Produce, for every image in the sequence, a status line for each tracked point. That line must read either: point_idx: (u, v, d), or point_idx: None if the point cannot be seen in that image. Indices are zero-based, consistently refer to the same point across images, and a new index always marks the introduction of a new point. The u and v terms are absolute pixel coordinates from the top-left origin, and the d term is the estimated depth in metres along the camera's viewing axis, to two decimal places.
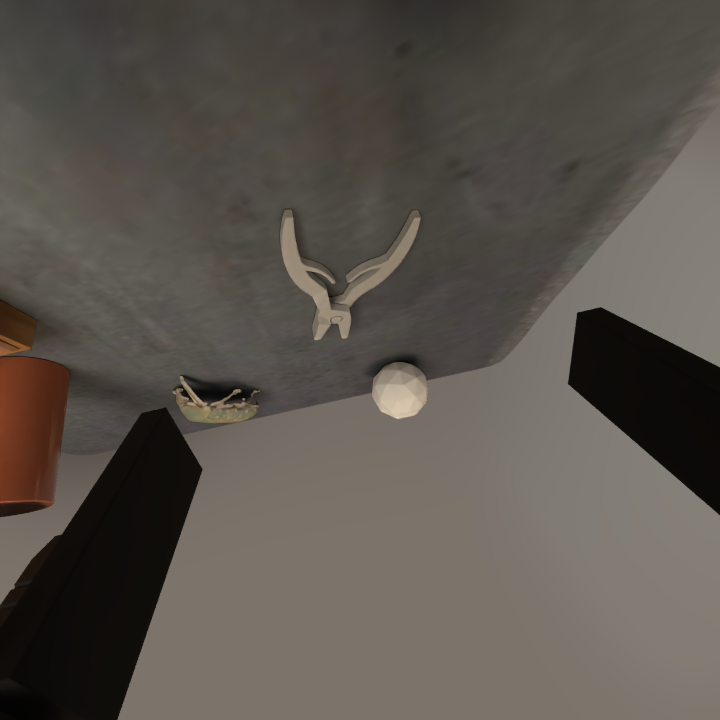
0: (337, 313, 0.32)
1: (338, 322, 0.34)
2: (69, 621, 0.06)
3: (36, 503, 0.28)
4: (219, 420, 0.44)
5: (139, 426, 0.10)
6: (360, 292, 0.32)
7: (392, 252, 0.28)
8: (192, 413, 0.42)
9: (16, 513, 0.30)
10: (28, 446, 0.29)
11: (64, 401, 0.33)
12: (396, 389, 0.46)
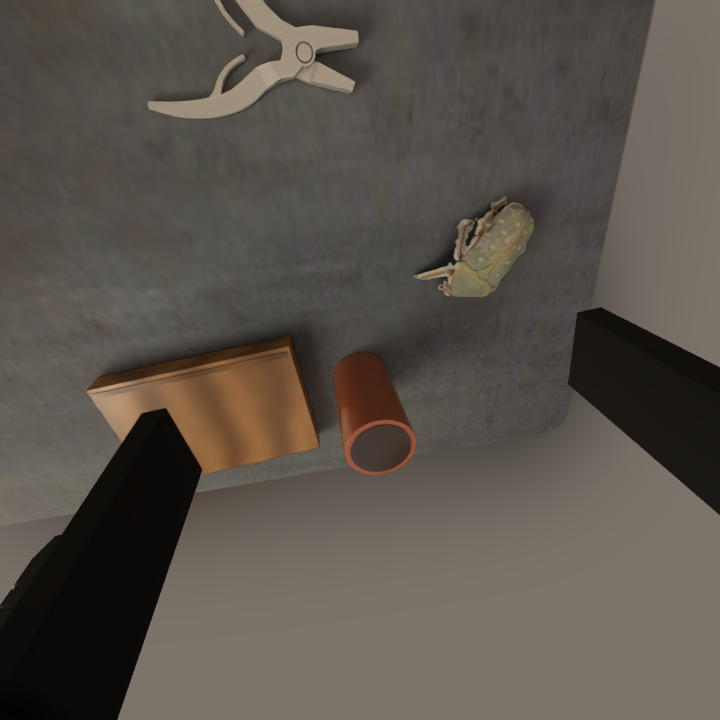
0: (289, 50, 0.25)
1: (312, 48, 0.25)
2: (69, 621, 0.06)
3: (380, 426, 0.30)
4: (494, 260, 0.33)
5: (139, 426, 0.10)
6: (263, 10, 0.25)
7: None
8: (461, 284, 0.34)
9: (403, 449, 0.31)
10: (353, 399, 0.33)
11: (372, 366, 0.37)
12: None
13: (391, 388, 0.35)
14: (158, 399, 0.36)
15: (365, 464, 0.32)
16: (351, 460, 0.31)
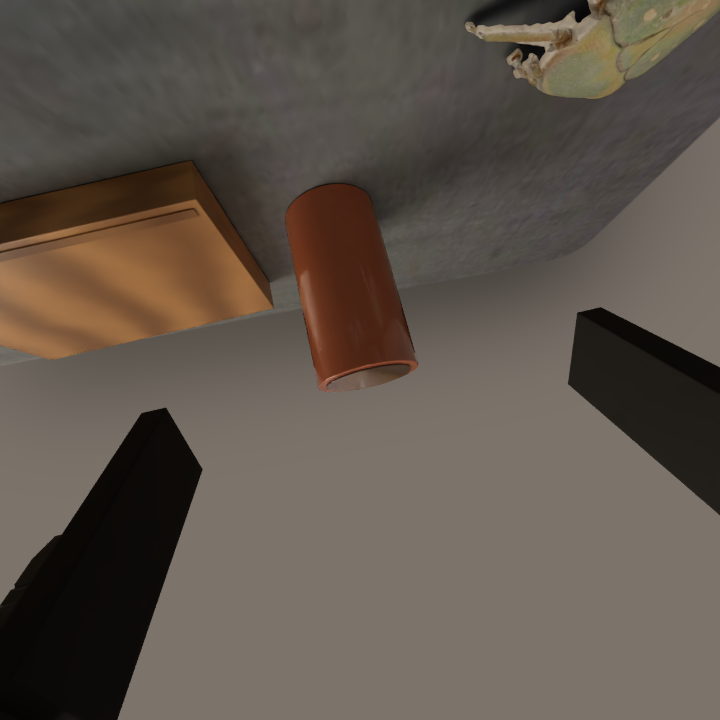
0: None
1: None
2: (69, 621, 0.06)
3: (372, 368, 0.20)
4: (677, 18, 0.13)
5: (139, 425, 0.10)
6: None
7: None
8: (568, 76, 0.15)
9: (398, 374, 0.23)
10: (327, 305, 0.21)
11: (354, 226, 0.22)
12: None
13: (386, 274, 0.22)
14: None
15: (345, 388, 0.24)
16: (327, 389, 0.23)
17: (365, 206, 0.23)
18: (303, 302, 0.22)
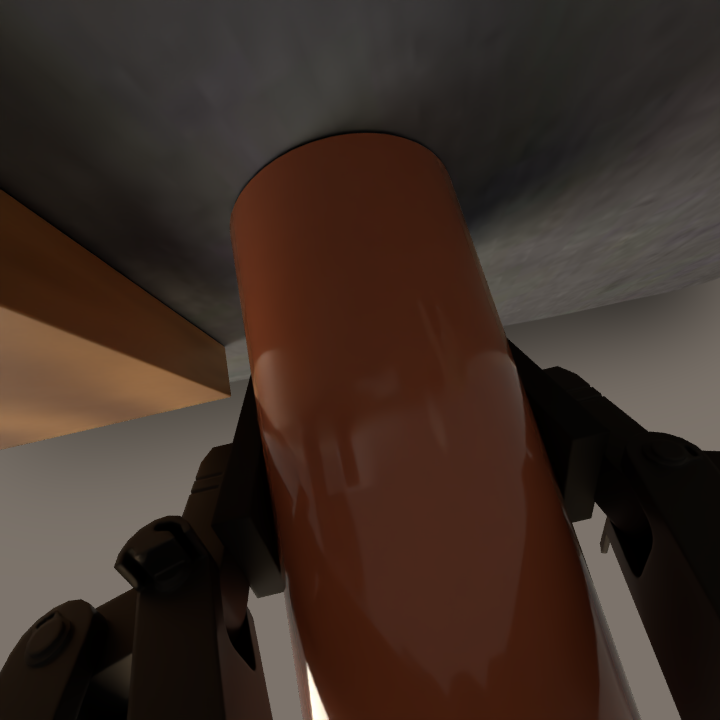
0: None
1: None
2: (263, 493, 0.08)
3: None
4: None
5: None
6: None
7: None
8: None
9: None
10: (346, 555, 0.06)
11: (428, 261, 0.07)
12: None
13: (526, 413, 0.07)
14: None
15: None
16: None
17: (449, 200, 0.08)
18: (269, 486, 0.08)
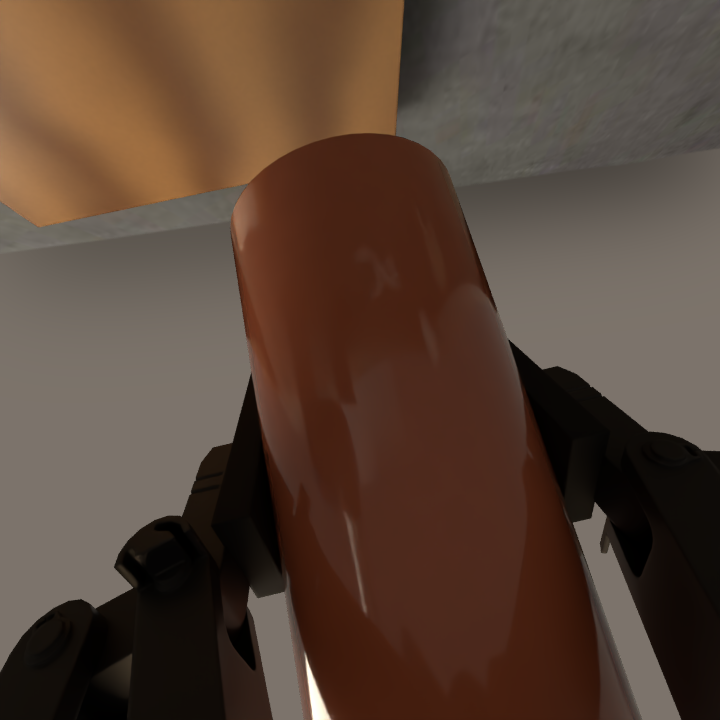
0: None
1: None
2: (263, 493, 0.08)
3: None
4: None
5: None
6: None
7: None
8: None
9: None
10: (348, 554, 0.06)
11: (429, 261, 0.07)
12: None
13: (527, 413, 0.07)
14: None
15: None
16: None
17: (449, 201, 0.08)
18: (270, 486, 0.08)
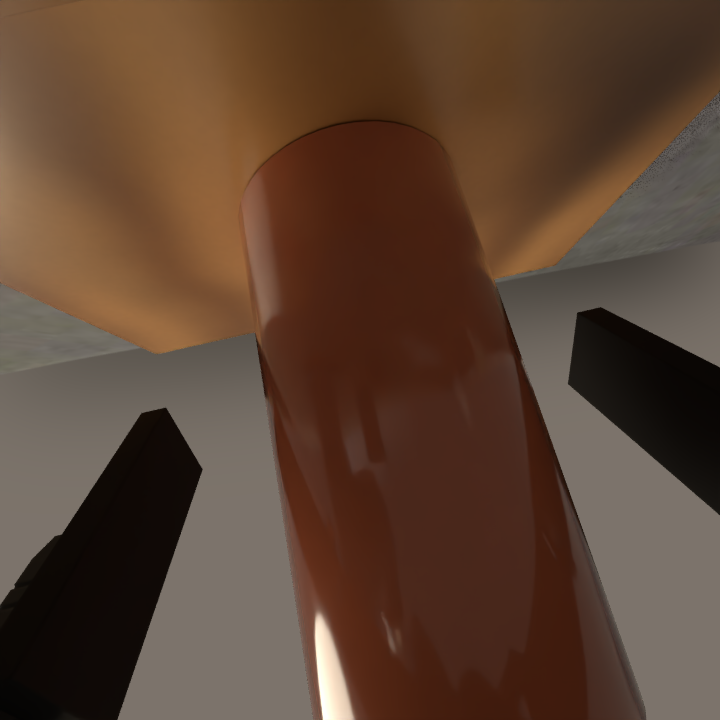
0: None
1: None
2: (69, 621, 0.06)
3: None
4: None
5: (139, 425, 0.10)
6: None
7: None
8: None
9: None
10: (353, 526, 0.06)
11: (434, 245, 0.07)
12: None
13: (529, 394, 0.07)
14: (102, 119, 0.07)
15: None
16: None
17: (453, 188, 0.08)
18: (277, 465, 0.08)
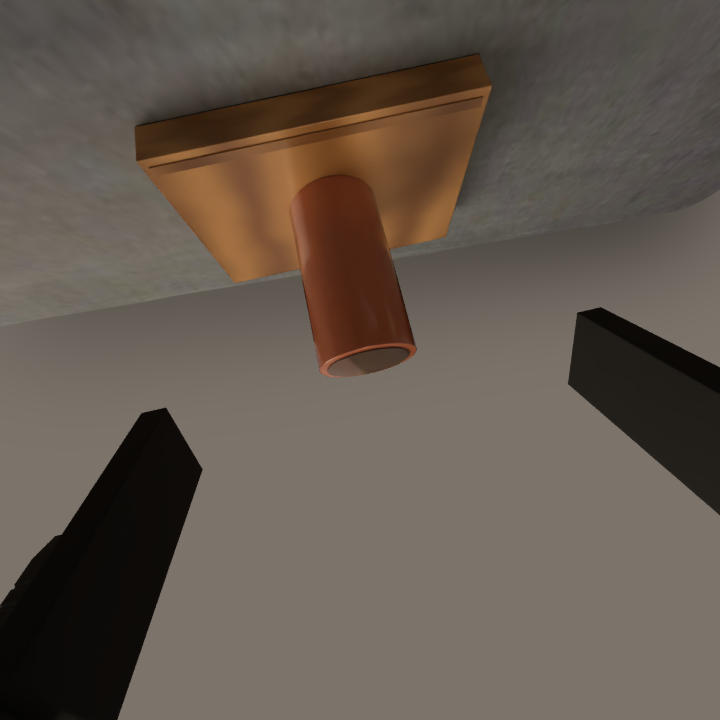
0: None
1: None
2: (69, 621, 0.06)
3: (372, 350, 0.21)
4: None
5: (139, 426, 0.10)
6: None
7: None
8: None
9: (397, 359, 0.24)
10: (329, 290, 0.21)
11: (356, 215, 0.23)
12: None
13: (386, 262, 0.23)
14: (256, 177, 0.22)
15: (346, 373, 0.24)
16: (328, 373, 0.24)
17: (367, 197, 0.24)
18: (306, 288, 0.23)
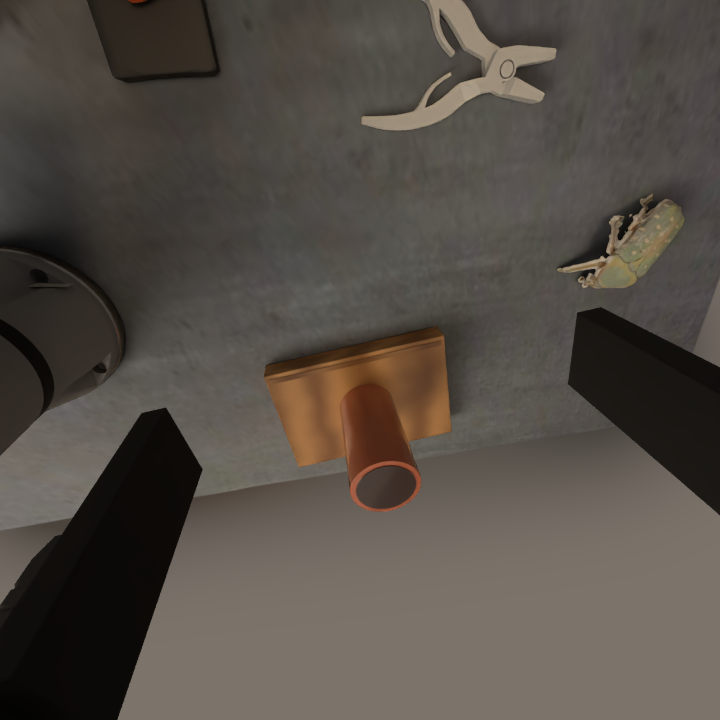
0: (495, 67, 0.28)
1: (514, 65, 0.28)
2: (69, 621, 0.06)
3: (385, 467, 0.30)
4: (646, 253, 0.35)
5: (139, 425, 0.10)
6: (475, 34, 0.28)
7: None
8: (610, 276, 0.37)
9: (408, 488, 0.32)
10: (359, 436, 0.34)
11: (377, 400, 0.38)
12: None
13: (396, 423, 0.36)
14: (322, 385, 0.40)
15: (371, 502, 0.32)
16: (357, 498, 0.32)
17: (385, 394, 0.40)
18: (345, 442, 0.36)
